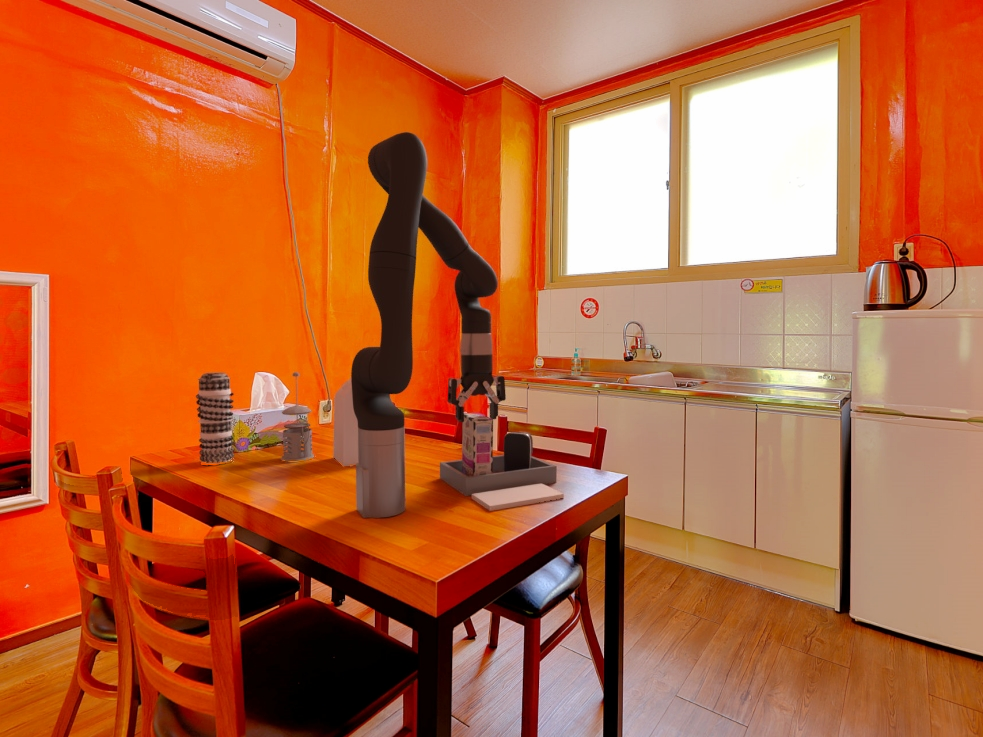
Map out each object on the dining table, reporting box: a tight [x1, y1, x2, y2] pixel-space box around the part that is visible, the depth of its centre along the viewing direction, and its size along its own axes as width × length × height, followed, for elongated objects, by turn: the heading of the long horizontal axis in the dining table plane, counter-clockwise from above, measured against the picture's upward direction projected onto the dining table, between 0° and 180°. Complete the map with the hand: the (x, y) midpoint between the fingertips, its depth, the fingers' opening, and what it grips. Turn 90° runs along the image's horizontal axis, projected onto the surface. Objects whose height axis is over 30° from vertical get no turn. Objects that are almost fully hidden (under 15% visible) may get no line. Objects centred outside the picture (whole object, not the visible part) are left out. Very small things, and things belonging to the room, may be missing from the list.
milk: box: [332, 377, 358, 467], centre depth 146 cm, size 12×12×26 cm
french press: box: [280, 371, 315, 461], centre depth 148 cm, size 10×12×25 cm
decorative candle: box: [195, 372, 235, 463], centre depth 144 cm, size 9×9×25 cm
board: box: [471, 483, 565, 512], centre depth 113 cm, size 18×9×1 cm, turn 117°
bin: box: [439, 454, 558, 497], centre depth 127 cm, size 24×16×4 cm, turn 117°
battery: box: [503, 431, 534, 472], centre depth 129 cm, size 7×4×11 cm, turn 68°
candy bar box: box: [461, 412, 494, 477], centre depth 124 cm, size 11×5×16 cm, turn 17°
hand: (477, 420), depth 124 cm, fingers open, 8 cm apart
